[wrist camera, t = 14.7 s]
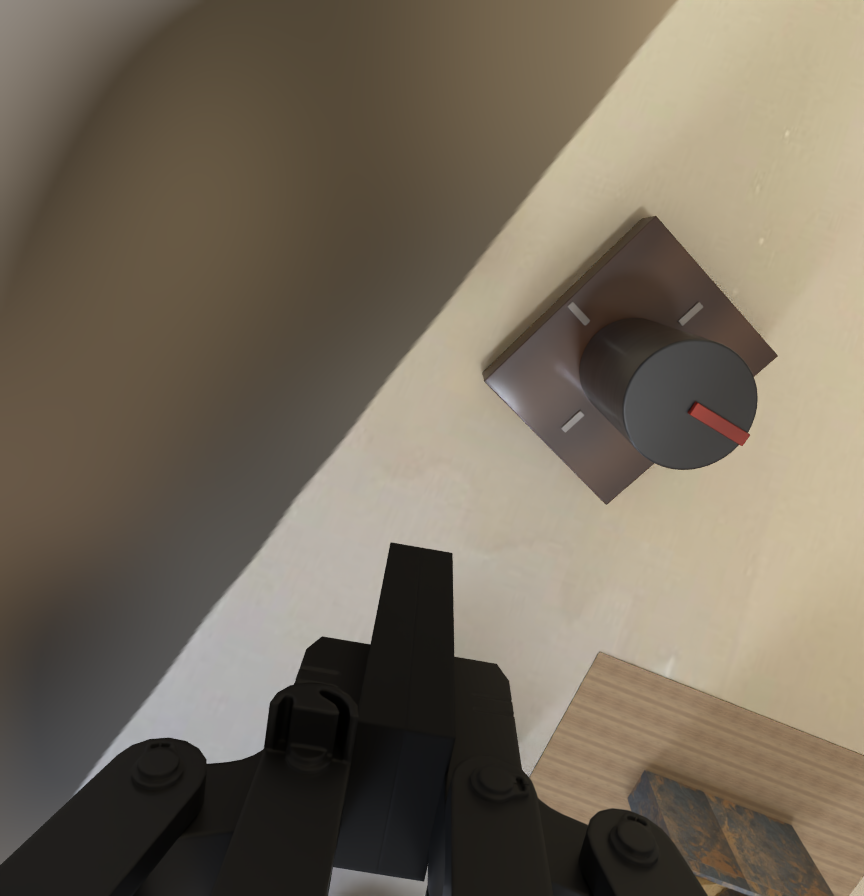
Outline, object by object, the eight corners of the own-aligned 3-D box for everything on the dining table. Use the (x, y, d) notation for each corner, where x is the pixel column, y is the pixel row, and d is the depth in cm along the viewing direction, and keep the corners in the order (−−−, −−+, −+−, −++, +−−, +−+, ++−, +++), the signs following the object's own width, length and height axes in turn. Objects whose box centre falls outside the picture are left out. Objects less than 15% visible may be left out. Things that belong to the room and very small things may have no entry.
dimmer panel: (481, 373, 40) (484, 381, 37) (642, 218, 37) (656, 215, 35) (597, 490, 42) (607, 506, 39) (757, 349, 39) (779, 356, 36)
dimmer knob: (559, 386, 37) (598, 431, 28) (616, 298, 36) (676, 313, 27) (642, 435, 38) (707, 496, 28) (701, 350, 37) (789, 384, 27)
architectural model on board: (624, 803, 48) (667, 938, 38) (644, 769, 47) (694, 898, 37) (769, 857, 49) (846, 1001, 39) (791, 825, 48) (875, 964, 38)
